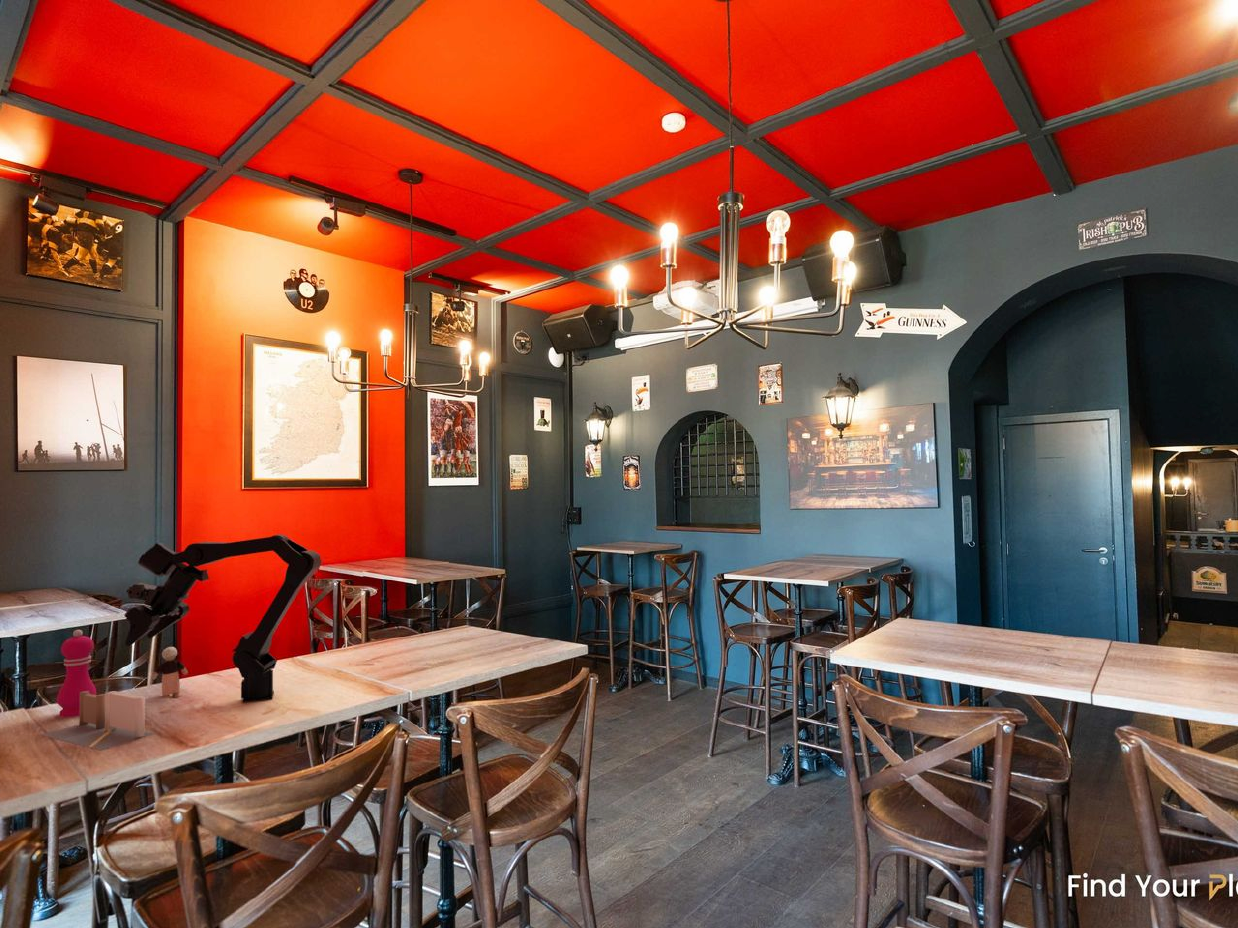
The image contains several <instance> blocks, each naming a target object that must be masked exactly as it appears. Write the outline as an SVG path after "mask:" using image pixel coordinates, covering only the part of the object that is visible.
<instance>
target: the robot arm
mask: <svg viewBox="0 0 1238 928" xmlns="http://www.w3.org/2000/svg"><path fill="white" fill-rule="evenodd" d="M265 552H273V553H275V554H276V555H277V556H278V557H279V558H280V559H281V560H282V561H283V562H284V563H285V564H287V565H288V566H287V569H286V571H285V576H284V581H283V583H282V585H281V587H280V588H279V590H278V591H277V594H276V595H275V597H274V598H273V600H272V602H271V603H270V605H269V606H268V608H267V610H266V611H265V613H264V615H263V617H262V618H261V620H260V622H259V623H258V625H257V626H256V628H255V630H254V631H250V632H248V633H246V634H244V635H242V636H241V637H240V639H239V641H238V643H237V645H236V647H235V648H234V649H233V650H232V652H233V655H232V662H233V665H234V666H235V667H236V669H238V671H239V674H240V676H241V679H242V678H243V679H242V680H241V683H240V699H242V703H248V702H255V701H256V702H257V701H266V700H272V699H273V697H274V694H275V691H274V670H273V669H275V668H276V664H277V662H278V659H276V658H275V657H274V656H273V655H272V654H270V653H269V651H270V647H271V645H272V639H273V635H274V633H275V631H276V630H277V629H278V627H279V625H280V624H281V621H283V619H284V616H285V615H286V614H287V612H288V610H289V609H290V607H291V605H292V603H293V602H294V601H295V599H296V597H297V595H298V594H299V591H300V590H301V588H302V587H303V586H304V585H305V584H306V583H307V582H308V581H309V580H310V579H311V578H312V577H313V576H314V574H315V573H317V571H318V570H319V569H320V567H321V565H322V562H323V559H322V557H321V556H320V554H319V553H318V552H316V551H315V550H312V549H311V550H310V549H308V548H305V547H304V546H303V545H300V544H299V543H298V542H295V541H293V540H292V539H291V538H289V537H288V536H287V535H285V534H275V535H272V536H267V537H260V538H254V539H247V540H240V541H239V540H238V541H234V542H233V541H231V542H223V541H222V542H221V541H202V542H195V543H190V544H189V545H187V547H185V549H184V550H183V551H180V552H176V551H174V550H172V548H169V547H168V546H167V545H165V544H164V543H162V542H156V543H155V544H154V546H152V547H151V548H149V549H148V550H147V551H145V553H143V554H141V556H140V557H139V559H138V561H137V565H138V566H140V567H142V568H143V569H145V570H146V571H148V572H150V573H151V574H153V575H155V576H156V577H158V578H162V577H163V576H166V577H167V576H168V577H167V579H166V580H165V581H164V583H163V584H161V585H153V584H149V583H142V582H140V583H139V582H136V583H133V584H131V585H129V587H128V589H126V593H127V598H128V599H131V600H133V599H135V600H139V601H144V604H145V605H147V606H149V607H150V608H149V607H147V606H145V605H144V604H142V605H137V606H133V607H132V606H131V607H130V608H128V609H127V611H126V612H125V613H124V618H125V619H126V620H127V621H128V622H129V629H128V633H127V636H126V639H125V643H124V645H125V646H126V647H131V646H132V645H133V644H135V643H136V642H138V641H139V640H141V639H142V638H143V637H144V636H146V638H148V639H152V638H154V637H155V636H157V635H159V634H160V633H161V632H163V631H164V630H166V629H168V628H169V627H171V626H172V625H173V624H176V623H177V622H179V621H180V620H181V619H182V618H185V617H186V616H187V615H188V613H189V612H190V610H191V609H190V605H189V604H188V603H185V602H184V600H187V599H188V598H189V597H190V594H189V592H190V591H191V589H192V588H193V587H194V585H195V584H196V583H197V581H199V582H205V581H208V580H210V576H209V574H208V570H207V569H205V568H204V569H199V568H198V567H200V566H206V565H210V564H214V563H217V562H220V561H222V560H225V559H227V558H232V557H237V556H238V557H239V556H247V555H252V554H259V553H265Z"/></svg>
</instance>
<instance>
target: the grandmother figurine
mask: <svg viewBox="0 0 1238 928" xmlns="http://www.w3.org/2000/svg"><path fill="white" fill-rule="evenodd" d="M177 655H178V651H177V648H176V647H174V646H168V647H166V648H165V649H163V651H162V652H161V657H162V658H163V659H164V661H165V662H163V663H160V664H159V665H158V666H157V667H156V668H155V669H154V671H153V674H152V676H151V680H154V681H155V680H156V679H157V677H158V675H160V674H162V675H161V696H162V697H163V698H169V699H171V698H178V697H182V693H181V687H180V686H181V684H180V683H181V682H180V674H179V671H178V670H180V671H181V673H182V674H183V675H184V676H186V675H188V674H189V673H188V670H187V668H186V666H185V665H184V664H183V663H182V662H181V661H179V660H175V659H176V656H177Z"/></svg>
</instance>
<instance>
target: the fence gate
mask: <svg viewBox="0 0 1238 928" xmlns="http://www.w3.org/2000/svg"><path fill="white" fill-rule="evenodd" d="M104 694H105V731H112V730H115V729H117V728H120V729H125V730H129V731H134V732H135V737H136V738H138V737H143V736H145V732H146V729H145V726H146V697H145V696H139V695H134V694H130V693H123V692H118V691H116V690H115V691H113V690H112V691H108V692H107V691H106V693H104Z"/></svg>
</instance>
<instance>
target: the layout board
mask: <svg viewBox="0 0 1238 928" xmlns="http://www.w3.org/2000/svg"><path fill="white" fill-rule="evenodd" d="M78 722H79V724H76V725H72V726H68V727H66V728H61V729H57V730H53V731H50V732H45V733H43V734H41V736H43V737H45V738H46V737H47V738H50V739H54V740H58V741H62V742H64V743H71V744H72V745H73V744H75V745H76V746H81V747H86V748H90V749H94V750H97V751H104V750H108V749H110V748H114V747H117V746H121V745H124V744H127V743H130V742H131V743H132V742H133V741H137V740H139V739H143V738H146V737H149V736H153V735H155V733H154V732H148V731H145V736H143V737H138V738H136V737H135V732H134V731H129V730H125V729H120V728H117V729H115V730H112V731H105V693H103V694H96V695H93V694H89V691H84V692H80V715H79V721H78Z"/></svg>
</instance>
